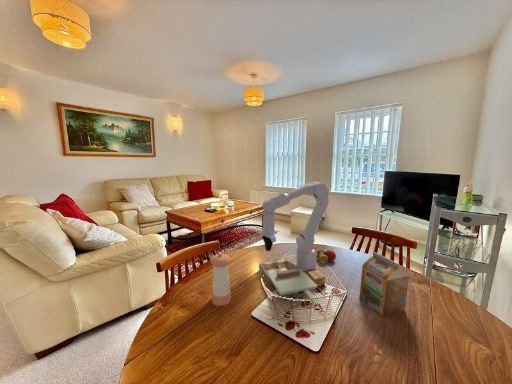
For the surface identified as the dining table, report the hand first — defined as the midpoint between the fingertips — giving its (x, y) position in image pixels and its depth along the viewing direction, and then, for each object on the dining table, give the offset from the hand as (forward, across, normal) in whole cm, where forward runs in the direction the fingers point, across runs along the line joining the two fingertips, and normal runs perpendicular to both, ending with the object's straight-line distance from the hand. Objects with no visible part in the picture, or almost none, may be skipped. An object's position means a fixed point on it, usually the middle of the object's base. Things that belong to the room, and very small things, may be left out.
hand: (268, 250), depth 106 cm
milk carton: (+10, +38, +32) cm, 51 cm away
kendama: (+10, 0, +29) cm, 31 cm away
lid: (+6, +20, +3) cm, 21 cm away
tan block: (+9, +19, +16) cm, 26 cm away
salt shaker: (+10, +18, -26) cm, 33 cm away
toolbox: (+9, +8, +3) cm, 13 cm away
